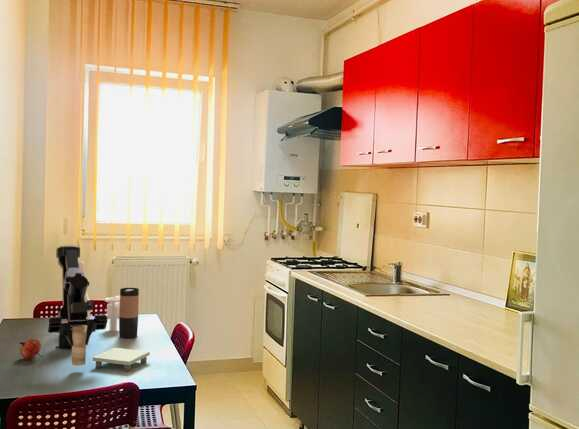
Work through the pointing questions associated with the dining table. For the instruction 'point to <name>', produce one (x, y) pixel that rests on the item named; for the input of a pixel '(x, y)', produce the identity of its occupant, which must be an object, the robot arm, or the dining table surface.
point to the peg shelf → (121, 357)
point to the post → (79, 345)
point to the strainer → (113, 311)
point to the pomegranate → (30, 349)
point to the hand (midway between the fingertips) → (79, 345)
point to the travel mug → (128, 313)
